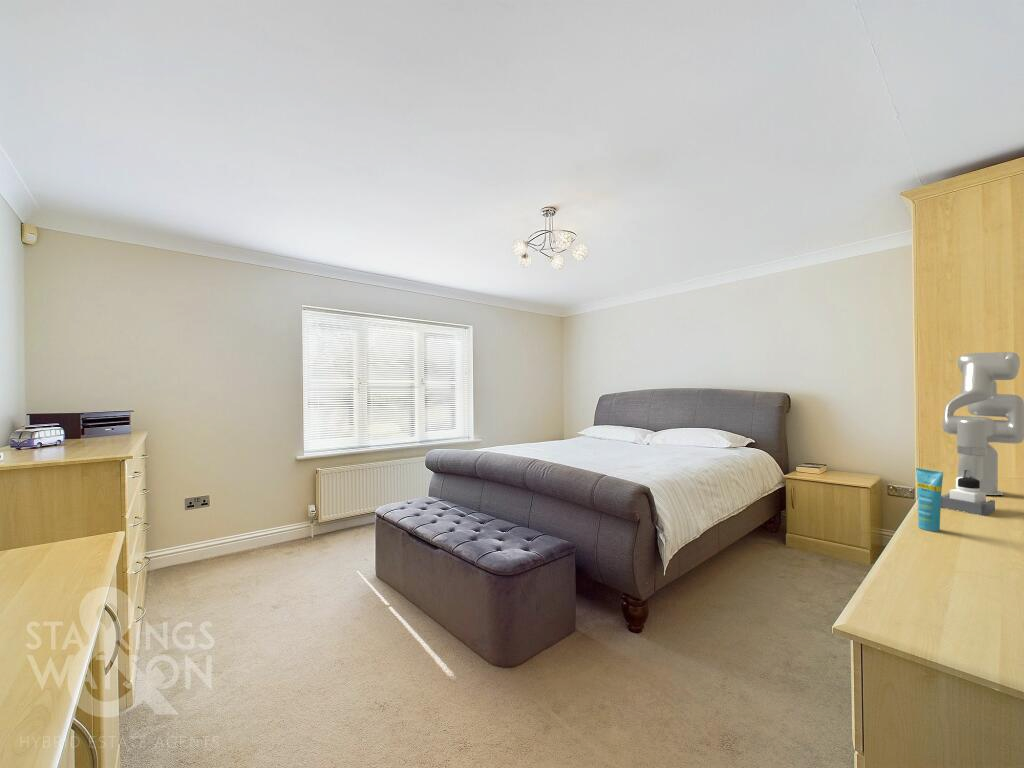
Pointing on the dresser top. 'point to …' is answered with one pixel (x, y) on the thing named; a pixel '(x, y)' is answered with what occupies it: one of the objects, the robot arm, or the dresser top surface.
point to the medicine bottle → (968, 490)
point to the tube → (929, 499)
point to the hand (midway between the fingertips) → (971, 499)
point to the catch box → (968, 505)
